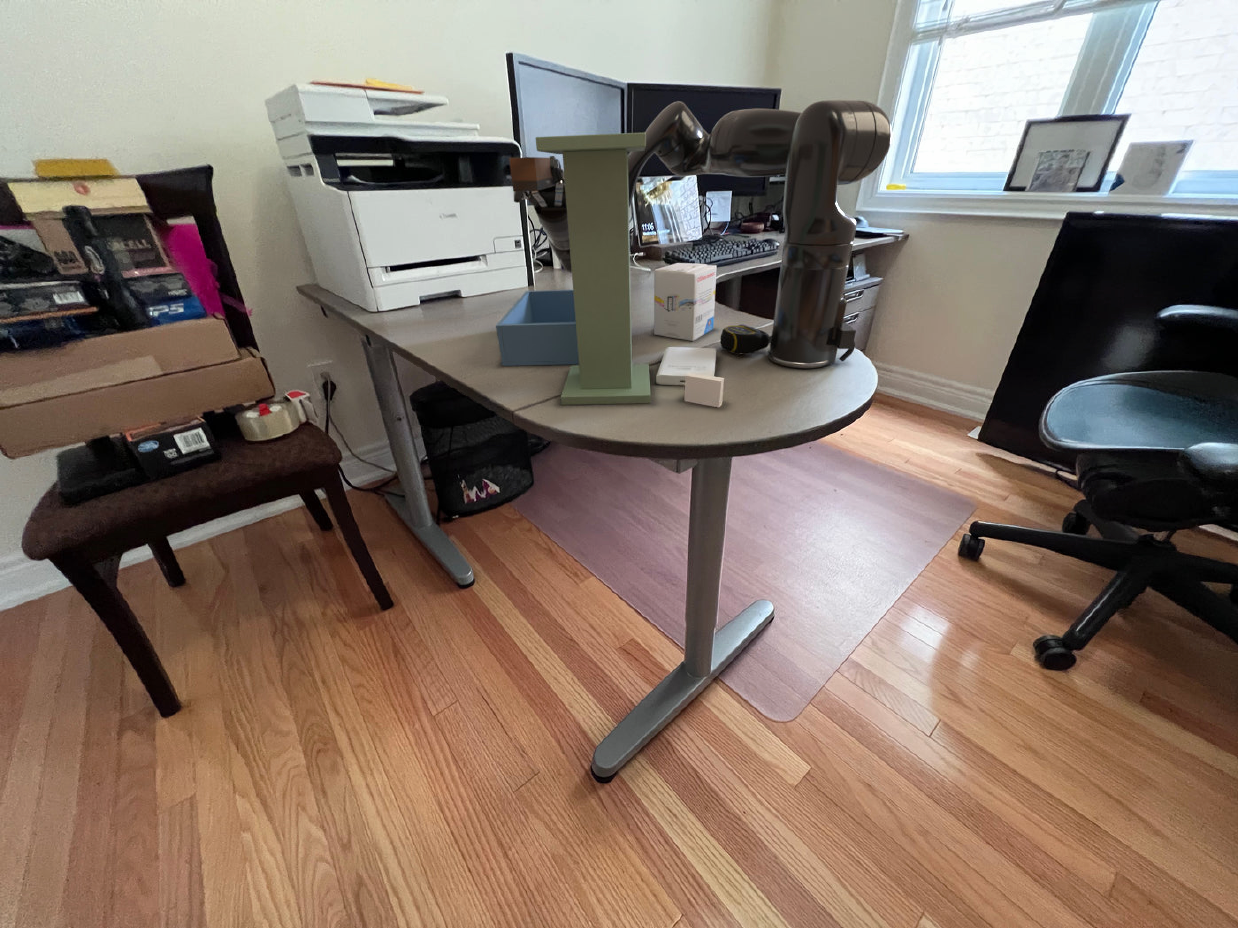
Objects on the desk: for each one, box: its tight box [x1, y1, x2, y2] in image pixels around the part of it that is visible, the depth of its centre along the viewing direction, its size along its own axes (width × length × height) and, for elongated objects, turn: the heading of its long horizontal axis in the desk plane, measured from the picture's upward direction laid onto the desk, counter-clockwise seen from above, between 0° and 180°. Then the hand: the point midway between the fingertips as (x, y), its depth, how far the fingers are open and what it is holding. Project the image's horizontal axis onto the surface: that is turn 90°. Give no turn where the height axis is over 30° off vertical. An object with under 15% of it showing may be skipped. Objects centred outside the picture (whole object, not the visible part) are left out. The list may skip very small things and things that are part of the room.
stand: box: [535, 132, 651, 406], centre depth 63 cm, size 12×16×30 cm
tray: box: [495, 289, 579, 367], centre depth 88 cm, size 14×25×7 cm, turn 178°
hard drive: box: [655, 346, 717, 387], centre depth 75 cm, size 2×8×12 cm
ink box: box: [653, 262, 717, 342], centre depth 89 cm, size 9×8×12 cm
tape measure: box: [719, 324, 770, 356], centre depth 81 cm, size 7×7×4 cm
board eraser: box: [508, 156, 556, 193], centre depth 76 cm, size 4×20×4 cm, turn 178°
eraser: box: [683, 373, 725, 409], centre depth 64 cm, size 1×5×4 cm, turn 61°
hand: (539, 162), depth 78 cm, fingers closed on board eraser, 3 cm apart
